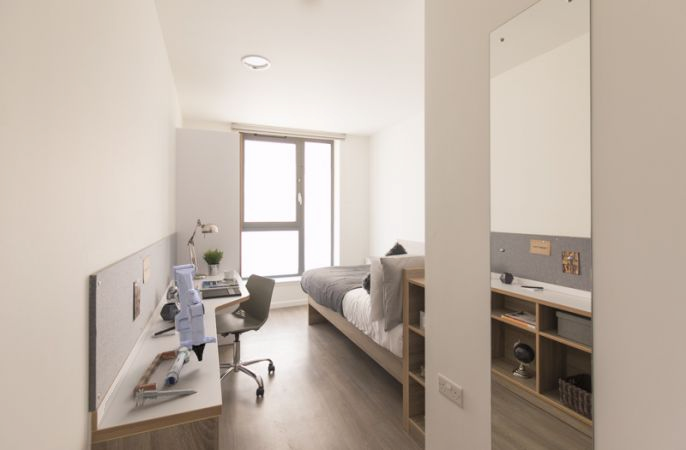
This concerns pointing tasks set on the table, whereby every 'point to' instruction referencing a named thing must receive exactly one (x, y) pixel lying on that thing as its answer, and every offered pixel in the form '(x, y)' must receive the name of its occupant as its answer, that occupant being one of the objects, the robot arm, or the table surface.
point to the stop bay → (149, 372)
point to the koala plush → (179, 302)
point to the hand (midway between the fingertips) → (200, 360)
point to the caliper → (160, 394)
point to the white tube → (177, 366)
